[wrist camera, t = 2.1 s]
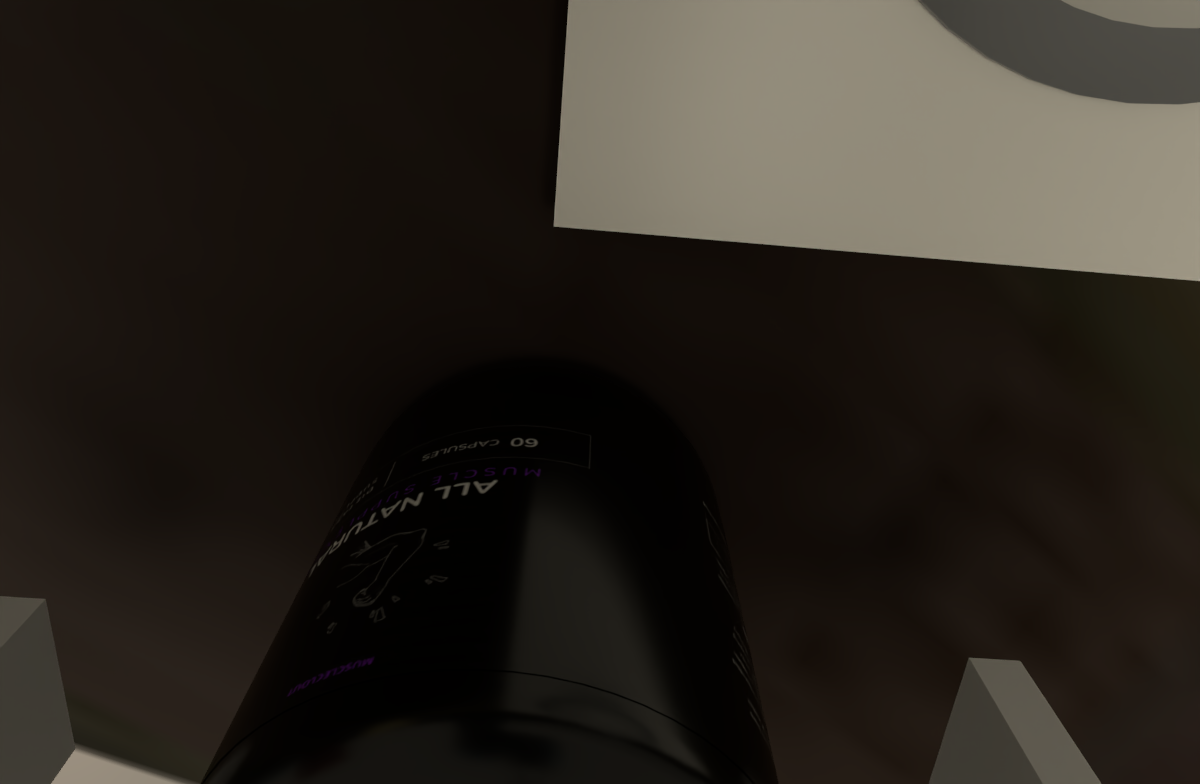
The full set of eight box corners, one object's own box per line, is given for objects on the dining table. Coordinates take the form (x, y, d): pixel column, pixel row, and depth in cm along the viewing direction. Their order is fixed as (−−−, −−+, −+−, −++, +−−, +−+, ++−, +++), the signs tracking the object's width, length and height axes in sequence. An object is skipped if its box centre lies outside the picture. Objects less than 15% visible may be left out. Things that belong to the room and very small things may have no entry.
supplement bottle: (437, 289, 15) (16, 1080, 4) (781, 446, 16) (1167, 1369, 5) (307, 588, 17) (-173, 1577, 7) (614, 702, 19) (646, 1690, 8)
